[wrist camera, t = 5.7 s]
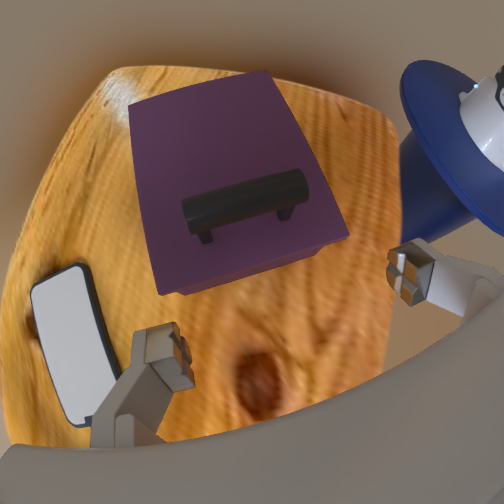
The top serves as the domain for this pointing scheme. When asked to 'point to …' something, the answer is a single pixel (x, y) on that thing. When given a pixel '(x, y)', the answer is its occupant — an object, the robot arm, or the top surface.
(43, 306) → the smartphone
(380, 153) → the top surface
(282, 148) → the lid
